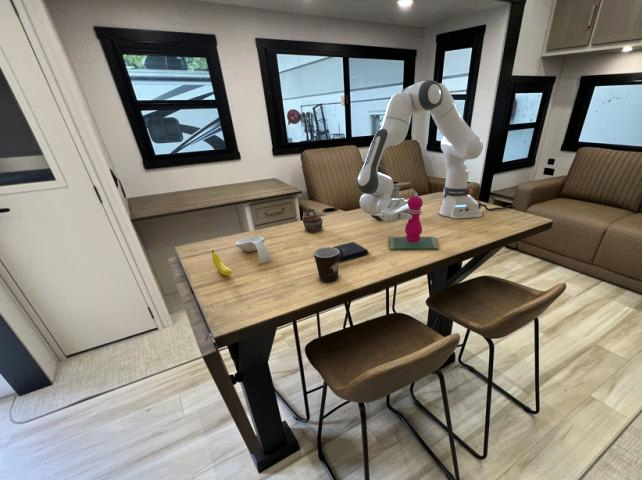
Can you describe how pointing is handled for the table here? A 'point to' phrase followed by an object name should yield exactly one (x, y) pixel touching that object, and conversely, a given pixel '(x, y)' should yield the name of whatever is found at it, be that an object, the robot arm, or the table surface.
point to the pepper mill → (414, 219)
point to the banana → (220, 265)
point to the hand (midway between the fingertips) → (416, 215)
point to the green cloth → (413, 244)
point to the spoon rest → (255, 247)
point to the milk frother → (394, 195)
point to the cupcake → (312, 221)
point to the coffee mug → (327, 263)
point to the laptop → (351, 251)
